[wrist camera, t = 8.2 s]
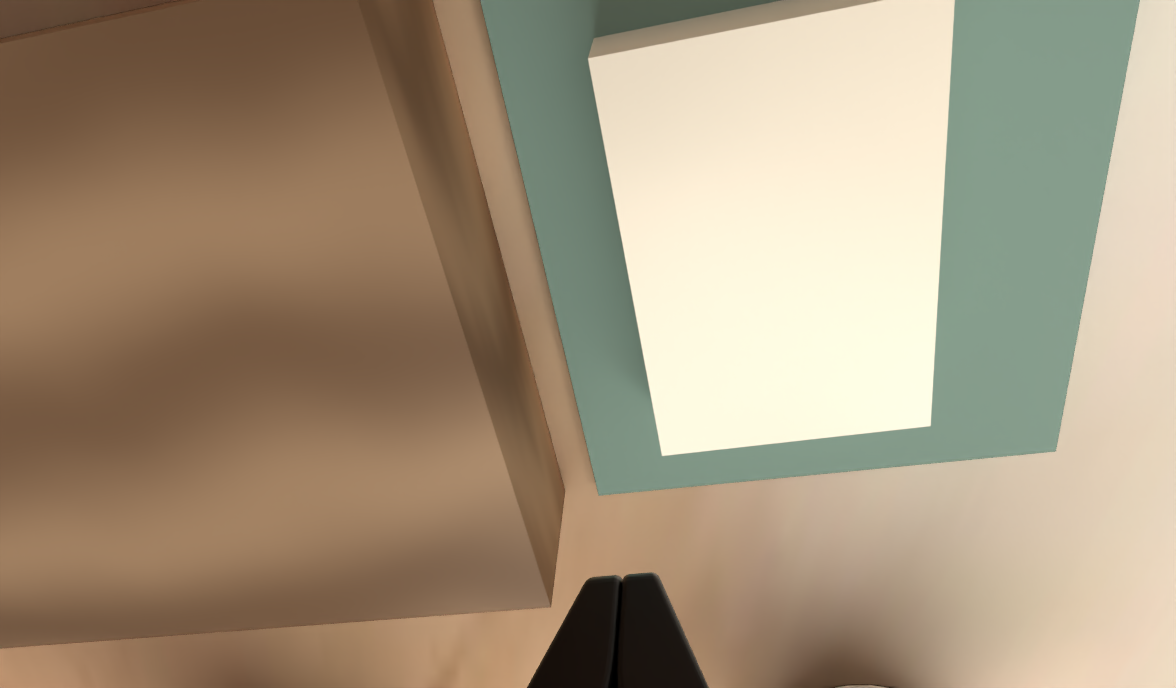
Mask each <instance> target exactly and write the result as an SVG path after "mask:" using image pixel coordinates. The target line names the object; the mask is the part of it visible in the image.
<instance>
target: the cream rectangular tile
mask: <svg viewBox="0 0 1176 688" xmlns="http://www.w3.org/2000/svg"><path fill="white" fill-rule="evenodd" d="M954 6H955V0H781V1H776V2H771V3H766V4H761V5H756V6H751V7H746V8H741V9H736V10H731V11H726V12H721V13H716V14H711V15H706V16H701V17H696V18H691V19H686V20H681V21H676V22H671V23H666V24H661V25H656V26H651V27H646V28H641V29H636V30H631V31H626V32H621V33H616V34H611V35H606V36H601V37H596V38H594V39H593V43H592V46H591V50H590V53H589V56H588V62H589V67H590V73H591V78H592V83H593V89H594V94H595V99H596V105H597V110H598V115H599V121H600V126H601V131H602V137H603V142H604V148H605V153H606V158H607V164H608V169H609V174H610V180H611V185H612V190H613V196H614V201H615V206H616V212H617V217H618V223H619V228H620V233H621V239H622V244H623V249H624V255H625V260H626V265H627V271H628V276H629V281H630V287H631V292H632V298H633V303H634V308H635V314H636V319H637V324H638V330H639V335H640V340H641V346H642V351H643V356H644V362H645V367H646V373H647V378H648V383H649V389H650V394H651V399H652V405H653V410H654V415H655V421H656V426H657V431H658V437H659V442H660V448H661V453H662V456H667V455H676V454H684V453H693V452H702V451H711V450H720V449H729V448H738V447H747V446H756V445H765V444H774V443H783V442H792V441H801V440H810V439H819V438H828V437H837V436H846V435H855V434H864V433H873V432H882V431H891V430H900V429H909V428H918V427H927V426H931V410H932V392H933V375H934V357H935V339H936V322H937V304H938V287H939V269H940V252H941V234H942V216H943V199H944V181H945V164H946V146H947V129H948V111H949V94H950V76H951V58H952V41H953V23H954Z"/></svg>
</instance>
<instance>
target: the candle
mask: <svg viewBox="0 0 1176 688" xmlns="http://www.w3.org/2000/svg"><path fill="white" fill-rule="evenodd" d="M837 688H887V687H880V686H873V685H854V686H842V687H837Z"/></svg>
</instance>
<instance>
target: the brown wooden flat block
mask: <svg viewBox="0 0 1176 688" xmlns="http://www.w3.org/2000/svg"><path fill="white" fill-rule="evenodd" d="M564 497H565V489H564V486H563V482H562V478H561V474H560V471H559V467H558V463H557V460H556V456H555V452H554V449H553V445H552V441H551V438H550V434H549V430H548V426H547V423H546V419H545V415H544V412H543V408H542V404H541V401H540V397H539V393H538V389H537V386H536V382H535V378H534V375H533V371H532V367H531V364H530V360H529V356H528V352H527V349H526V345H525V341H524V338H523V334H522V330H521V327H520V323H519V319H518V315H517V312H516V308H515V304H514V301H513V297H512V293H511V290H510V286H509V282H508V278H507V275H506V271H505V267H504V264H503V260H502V256H501V253H500V249H499V245H498V242H497V238H496V234H495V230H494V227H493V223H492V219H491V216H490V212H489V208H488V205H487V201H486V197H485V193H484V190H483V186H482V182H481V179H480V175H479V171H478V168H477V164H476V160H475V156H474V153H473V149H472V145H471V142H470V138H469V134H468V131H467V127H466V123H465V119H464V116H463V112H462V108H461V105H460V101H459V97H458V94H457V90H456V86H455V83H454V79H453V75H452V71H451V68H450V64H449V60H448V57H447V53H446V49H445V46H444V42H443V38H442V34H441V31H440V27H439V23H438V20H437V16H436V12H435V9H434V5H433V1H432V0H179V1H174V2H170V3H165V4H160V5H156V6H151V7H146V8H142V9H137V10H132V11H128V12H123V13H119V14H114V15H109V16H105V17H100V18H95V19H91V20H86V21H81V22H77V23H72V24H67V25H63V26H58V27H53V28H49V29H44V30H39V31H35V32H30V33H26V34H21V35H16V36H12V37H7V38H2V39H0V648H13V647H26V646H40V645H53V644H66V643H80V642H93V641H106V640H120V639H133V638H147V637H160V636H173V635H187V634H200V633H213V632H227V631H240V630H254V629H267V628H280V627H294V626H307V625H321V624H334V623H347V622H361V621H374V620H387V619H401V618H414V617H428V616H441V615H454V614H468V613H481V612H494V611H508V610H521V609H535V608H548V607H551V603H552V595H553V587H554V579H555V570H556V562H557V554H558V546H559V538H560V529H561V521H562V513H563V505H564Z"/></svg>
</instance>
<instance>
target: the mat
mask: <svg viewBox="0 0 1176 688" xmlns="http://www.w3.org/2000/svg"><path fill="white" fill-rule="evenodd" d="M480 1H481V6H482V10H483V14H484V18H485V22H486V27H487V31H488V35H489V39H490V43H491V47H492V52H493V56H494V60H495V64H496V68H497V72H498V77H499V81H500V85H501V89H502V93H503V98H504V102H505V106H506V110H507V114H508V118H509V123H510V127H511V131H512V135H513V139H514V143H515V148H516V152H517V156H518V160H519V164H520V169H521V173H522V177H523V181H524V185H525V189H526V194H527V198H528V202H529V206H530V210H531V214H532V219H533V223H534V227H535V231H536V235H537V240H538V244H539V248H540V252H541V256H542V260H543V265H544V269H545V273H546V277H547V281H548V285H549V290H550V294H551V298H552V302H553V306H554V310H555V315H556V319H557V323H558V327H559V331H560V336H561V340H562V344H563V348H564V352H565V356H566V361H567V365H568V369H569V373H570V377H571V381H572V386H573V390H574V394H575V398H576V402H577V407H578V411H579V415H580V419H581V423H582V427H583V432H584V436H585V440H586V444H587V448H588V452H589V457H590V461H591V465H592V469H593V473H594V478H595V482H596V486H597V490H598V494H599V495H610V494H620V493H631V492H641V491H651V490H662V489H672V488H682V487H693V486H703V485H713V484H724V483H734V482H744V481H755V480H765V479H775V478H786V477H796V476H806V475H817V474H827V473H838V472H848V471H858V470H869V469H879V468H889V467H900V466H910V465H920V464H931V463H941V462H951V461H962V460H972V459H982V458H993V457H1003V456H1013V455H1024V454H1034V453H1044V452H1055V451H1056V447H1057V442H1058V437H1059V431H1060V426H1061V420H1062V415H1063V410H1064V404H1065V399H1066V394H1067V388H1068V383H1069V377H1070V372H1071V367H1072V361H1073V356H1074V351H1075V345H1076V340H1077V335H1078V329H1079V324H1080V318H1081V313H1082V308H1083V302H1084V297H1085V292H1086V286H1087V281H1088V275H1089V270H1090V265H1091V259H1092V254H1093V249H1094V243H1095V238H1096V233H1097V227H1098V222H1099V216H1100V211H1101V206H1102V200H1103V195H1104V190H1105V184H1106V179H1107V173H1108V168H1109V163H1110V157H1111V152H1112V147H1113V141H1114V136H1115V131H1116V125H1117V120H1118V114H1119V109H1120V104H1121V98H1122V93H1123V88H1124V82H1125V77H1126V71H1127V66H1128V61H1129V55H1130V50H1131V45H1132V39H1133V34H1134V29H1135V23H1136V18H1137V12H1138V7H1139V2H1140V0H955V6H954V23H953V41H952V58H951V76H950V94H949V111H948V129H947V146H946V164H945V181H944V199H943V216H942V234H941V252H940V269H939V287H938V304H937V322H936V339H935V357H934V375H933V392H932V410H931V426H927V427H918V428H909V429H900V430H891V431H882V432H873V433H864V434H855V435H846V436H837V437H828V438H819V439H810V440H801V441H792V442H783V443H774V444H765V445H756V446H747V447H738V448H729V449H720V450H711V451H702V452H693V453H684V454H676V455H667V456H662V453H661V448H660V442H659V437H658V431H657V426H656V421H655V415H654V410H653V405H652V399H651V394H650V389H649V383H648V378H647V373H646V367H645V362H644V356H643V351H642V346H641V340H640V335H639V330H638V324H637V319H636V314H635V308H634V303H633V298H632V292H631V287H630V281H629V276H628V271H627V265H626V260H625V255H624V249H623V244H622V239H621V233H620V228H619V223H618V217H617V212H616V206H615V201H614V196H613V190H612V185H611V180H610V174H609V169H608V164H607V158H606V153H605V148H604V142H603V137H602V131H601V126H600V121H599V115H598V110H597V105H596V99H595V94H594V89H593V83H592V78H591V73H590V67H589V62H588V56H589V53H590V50H591V46H592V43H593V39H594V38H596V37H601V36H606V35H611V34H616V33H621V32H626V31H631V30H636V29H641V28H646V27H651V26H656V25H661V24H666V23H671V22H676V21H681V20H686V19H691V18H696V17H701V16H706V15H711V14H716V13H721V12H726V11H731V10H736V9H741V8H746V7H751V6H756V5H761V4H766V3H771V2H776V1H781V0H480Z"/></svg>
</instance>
